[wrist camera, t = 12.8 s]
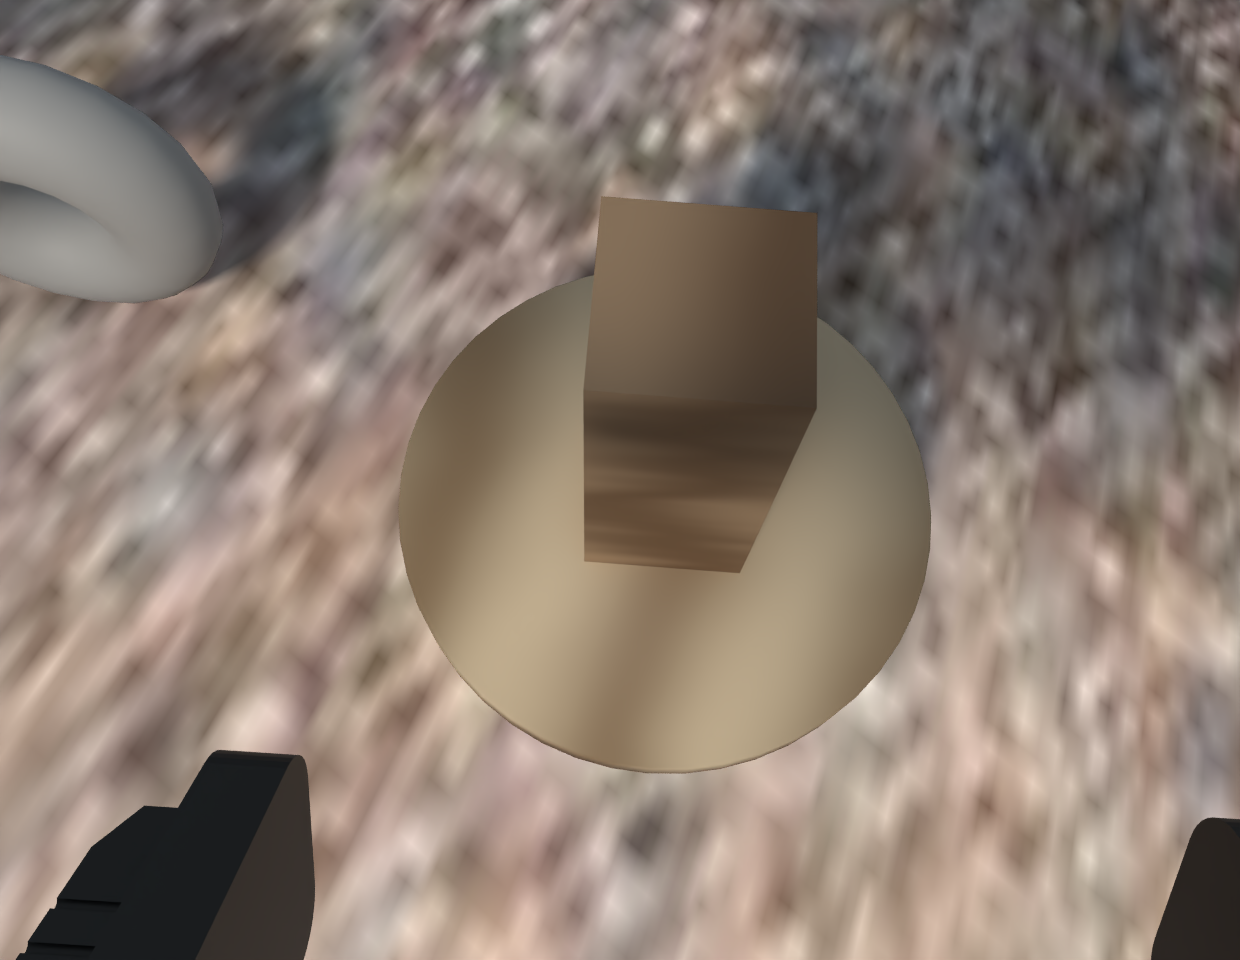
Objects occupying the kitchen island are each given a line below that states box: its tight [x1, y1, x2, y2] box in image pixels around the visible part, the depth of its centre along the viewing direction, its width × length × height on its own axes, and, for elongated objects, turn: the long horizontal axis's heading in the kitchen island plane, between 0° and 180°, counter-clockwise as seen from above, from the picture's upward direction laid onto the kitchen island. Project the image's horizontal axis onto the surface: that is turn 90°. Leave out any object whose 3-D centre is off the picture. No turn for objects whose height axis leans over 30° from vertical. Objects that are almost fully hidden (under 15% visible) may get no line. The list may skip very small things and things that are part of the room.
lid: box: [398, 196, 931, 773], centre depth 24 cm, size 14×14×11 cm
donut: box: [0, 55, 223, 303], centre depth 32 cm, size 10×3×10 cm, turn 82°
